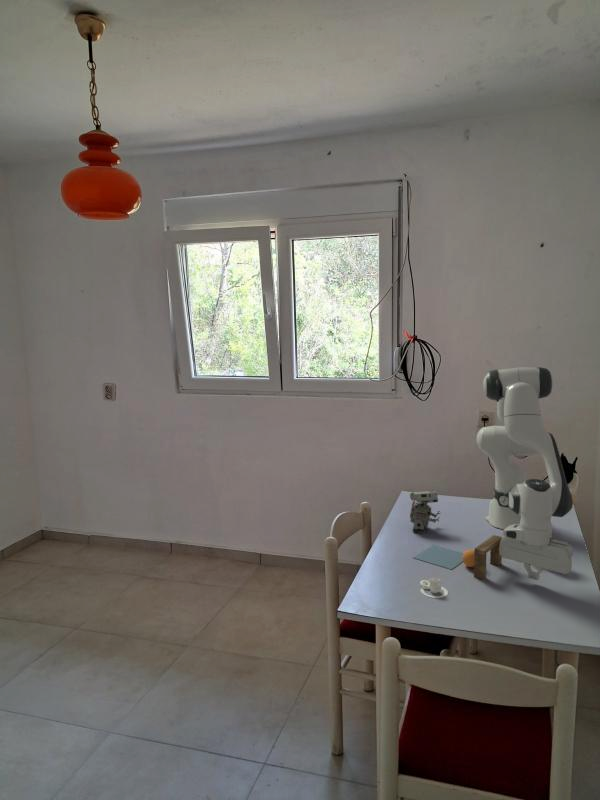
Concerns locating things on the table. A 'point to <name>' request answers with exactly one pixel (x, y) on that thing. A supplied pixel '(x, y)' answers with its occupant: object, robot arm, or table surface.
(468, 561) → the ball
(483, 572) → the bridge
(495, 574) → the table surface
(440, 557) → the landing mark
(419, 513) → the figurine
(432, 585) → the mug and donut ornament
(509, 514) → the robot arm
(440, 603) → the table surface
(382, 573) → the table surface
